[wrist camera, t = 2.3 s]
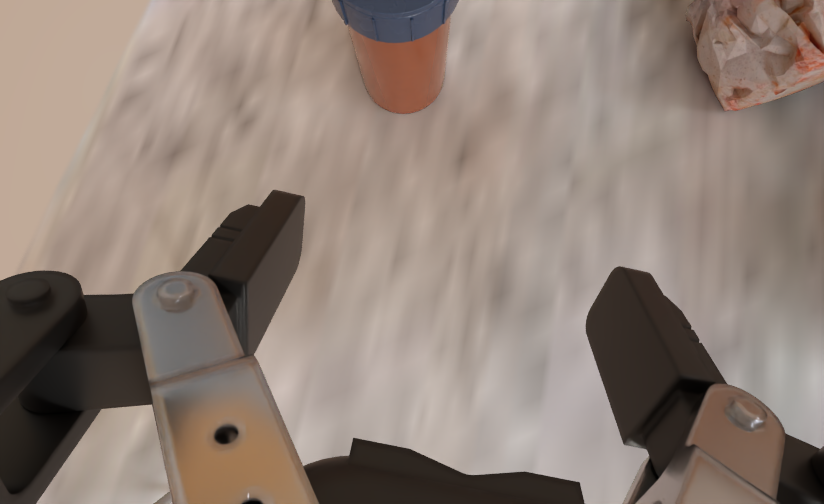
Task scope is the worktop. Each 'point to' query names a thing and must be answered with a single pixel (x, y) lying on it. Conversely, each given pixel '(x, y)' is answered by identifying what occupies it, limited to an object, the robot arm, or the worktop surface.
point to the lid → (395, 17)
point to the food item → (758, 47)
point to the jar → (403, 69)
